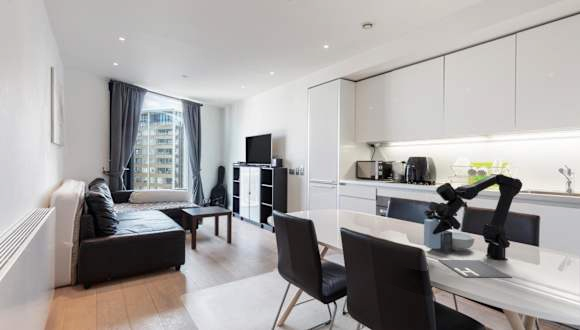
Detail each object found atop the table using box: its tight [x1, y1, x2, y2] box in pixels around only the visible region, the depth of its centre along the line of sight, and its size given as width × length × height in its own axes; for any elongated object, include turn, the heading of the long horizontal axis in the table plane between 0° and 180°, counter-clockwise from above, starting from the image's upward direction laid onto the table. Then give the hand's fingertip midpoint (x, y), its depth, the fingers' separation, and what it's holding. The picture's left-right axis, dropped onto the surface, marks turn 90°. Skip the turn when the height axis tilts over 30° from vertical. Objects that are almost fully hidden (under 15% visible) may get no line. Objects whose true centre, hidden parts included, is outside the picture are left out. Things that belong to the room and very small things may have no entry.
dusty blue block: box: [423, 218, 441, 249], centre depth 130 cm, size 5×5×12 cm
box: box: [431, 230, 453, 255], centre depth 146 cm, size 8×6×11 cm
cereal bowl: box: [451, 231, 475, 251], centre depth 151 cm, size 17×17×7 cm
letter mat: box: [438, 259, 512, 279], centre depth 122 cm, size 19×19×1 cm
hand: (429, 232), depth 130 cm, fingers closed on dusty blue block, 5 cm apart
